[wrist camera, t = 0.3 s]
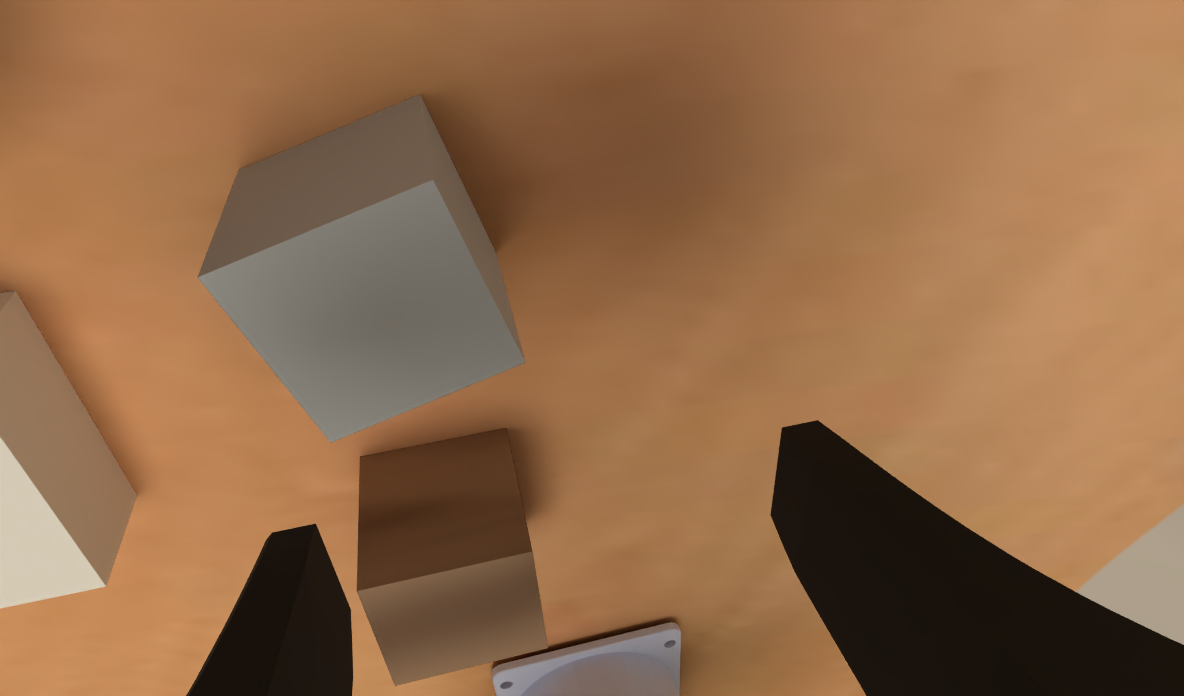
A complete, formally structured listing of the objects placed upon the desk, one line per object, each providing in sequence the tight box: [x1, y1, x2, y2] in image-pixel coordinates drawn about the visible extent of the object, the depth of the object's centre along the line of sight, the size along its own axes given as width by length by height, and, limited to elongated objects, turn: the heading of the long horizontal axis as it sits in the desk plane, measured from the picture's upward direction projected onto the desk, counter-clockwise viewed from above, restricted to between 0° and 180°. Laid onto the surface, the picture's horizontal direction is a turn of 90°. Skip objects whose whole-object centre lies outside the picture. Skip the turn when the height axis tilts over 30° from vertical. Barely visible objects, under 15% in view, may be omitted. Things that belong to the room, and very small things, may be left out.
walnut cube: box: [357, 428, 548, 686], centre depth 22 cm, size 4×4×5 cm
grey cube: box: [198, 94, 525, 442], centre depth 16 cm, size 4×4×5 cm
